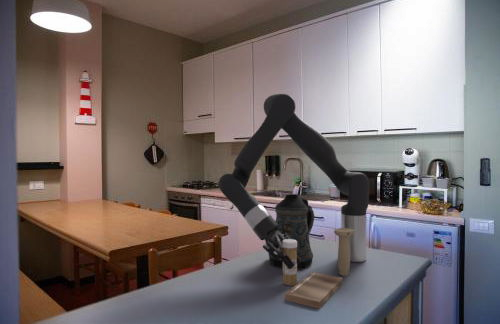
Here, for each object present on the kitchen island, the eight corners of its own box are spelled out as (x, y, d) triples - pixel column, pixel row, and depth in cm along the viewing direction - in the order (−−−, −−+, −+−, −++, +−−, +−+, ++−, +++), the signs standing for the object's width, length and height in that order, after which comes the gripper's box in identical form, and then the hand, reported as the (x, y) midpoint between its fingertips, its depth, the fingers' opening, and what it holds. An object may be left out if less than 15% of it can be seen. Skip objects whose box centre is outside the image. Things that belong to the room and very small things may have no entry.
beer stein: (262, 266, 121) (261, 197, 121) (278, 251, 139) (278, 191, 138) (307, 272, 115) (307, 199, 114) (318, 256, 133) (318, 193, 132)
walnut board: (312, 277, 110) (312, 271, 110) (342, 283, 104) (342, 277, 104) (285, 299, 93) (285, 293, 93) (319, 308, 88) (319, 301, 88)
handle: (356, 275, 111) (356, 230, 111) (339, 278, 109) (339, 232, 109) (347, 271, 116) (348, 227, 115) (331, 273, 114) (331, 229, 113)
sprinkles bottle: (289, 287, 102) (289, 243, 101) (279, 282, 105) (279, 240, 105) (300, 283, 104) (300, 240, 104) (290, 279, 108) (289, 237, 108)
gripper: (257, 218, 102) (293, 264, 96) (278, 211, 114) (312, 251, 108) (242, 233, 105) (277, 279, 99) (265, 225, 117) (297, 265, 111)
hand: (295, 264), depth 104 cm, fingers closed on sprinkles bottle, 4 cm apart
